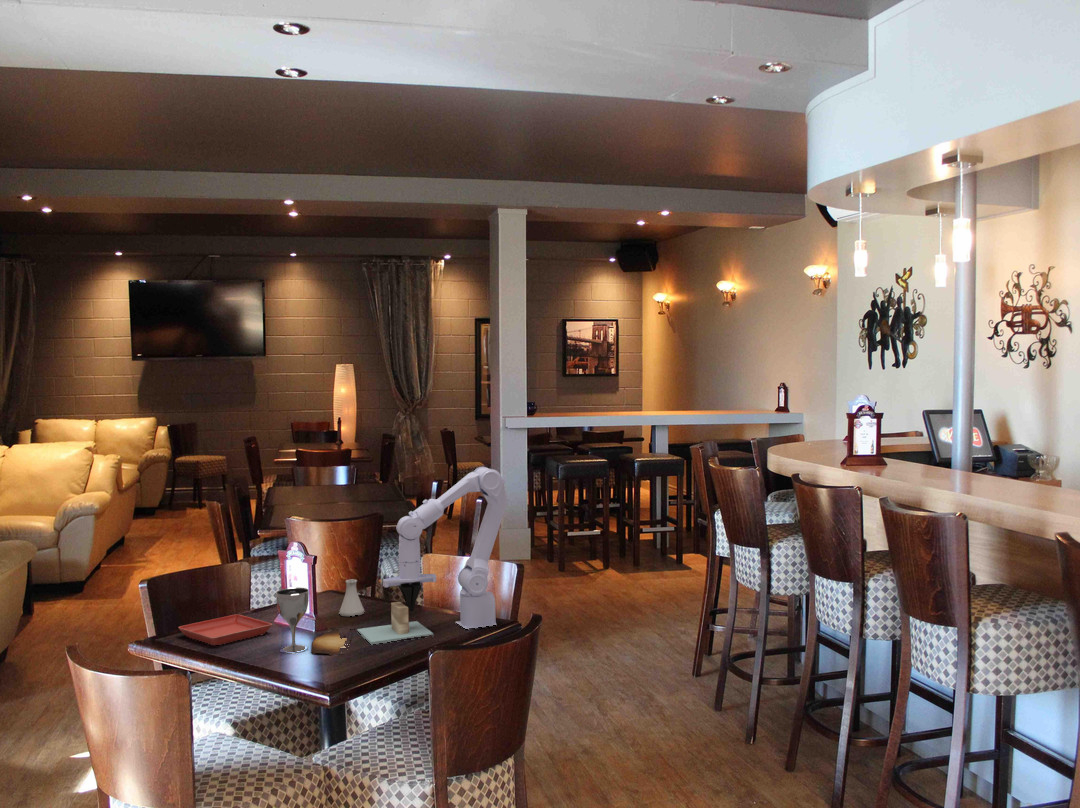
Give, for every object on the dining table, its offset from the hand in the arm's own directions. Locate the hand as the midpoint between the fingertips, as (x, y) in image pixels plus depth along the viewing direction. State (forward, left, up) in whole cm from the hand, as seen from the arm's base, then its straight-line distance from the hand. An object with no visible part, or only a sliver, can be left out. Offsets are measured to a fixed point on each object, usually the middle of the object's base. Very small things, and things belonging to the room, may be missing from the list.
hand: (410, 610), depth 241 cm
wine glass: (+31, +1, -6) cm, 32 cm away
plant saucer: (+45, -21, -6) cm, 50 cm away
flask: (+9, -27, -6) cm, 29 cm away
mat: (+4, 0, -6) cm, 7 cm away
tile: (+3, 0, -5) cm, 6 cm away
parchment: (+21, -1, -6) cm, 22 cm away
